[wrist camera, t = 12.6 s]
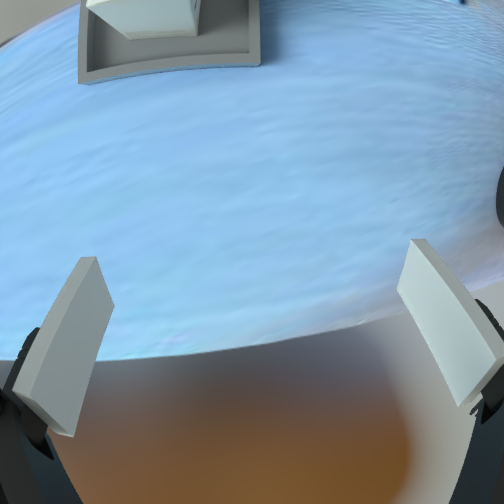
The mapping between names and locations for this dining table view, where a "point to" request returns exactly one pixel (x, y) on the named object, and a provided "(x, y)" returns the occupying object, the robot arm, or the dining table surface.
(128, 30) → the supplement box
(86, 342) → the robot arm
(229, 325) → the dining table surface
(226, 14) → the tray
